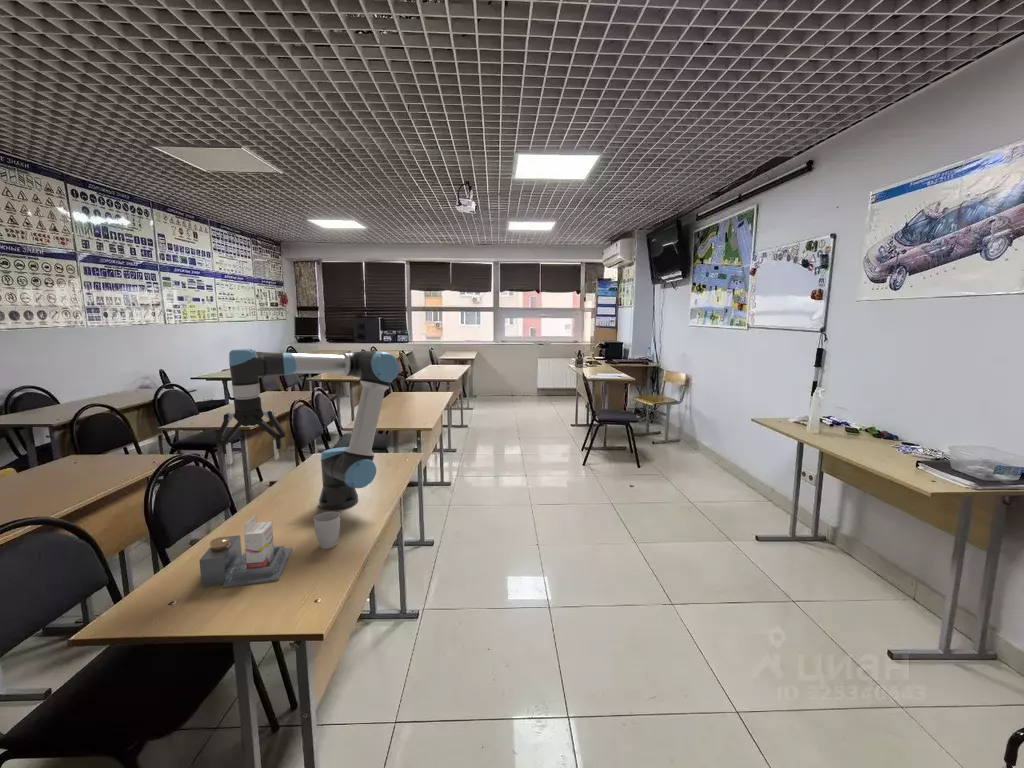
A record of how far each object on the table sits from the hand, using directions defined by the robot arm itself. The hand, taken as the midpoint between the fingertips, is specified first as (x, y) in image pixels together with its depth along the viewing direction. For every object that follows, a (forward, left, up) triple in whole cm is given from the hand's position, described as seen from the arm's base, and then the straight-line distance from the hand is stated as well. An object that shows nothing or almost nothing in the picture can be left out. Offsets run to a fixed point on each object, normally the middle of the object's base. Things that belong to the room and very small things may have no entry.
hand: (254, 461), depth 147 cm
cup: (-22, +7, -29) cm, 37 cm away
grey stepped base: (-1, +17, -29) cm, 33 cm away
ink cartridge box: (-5, +17, -28) cm, 33 cm away
